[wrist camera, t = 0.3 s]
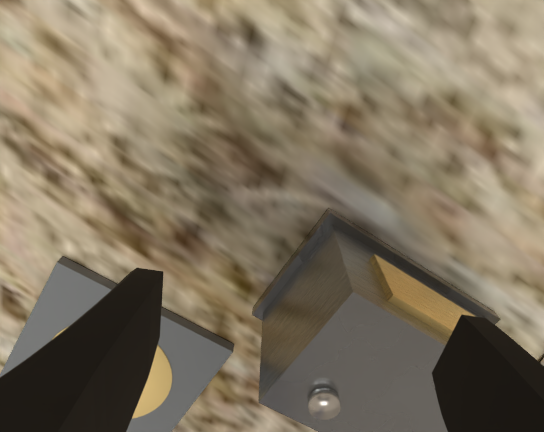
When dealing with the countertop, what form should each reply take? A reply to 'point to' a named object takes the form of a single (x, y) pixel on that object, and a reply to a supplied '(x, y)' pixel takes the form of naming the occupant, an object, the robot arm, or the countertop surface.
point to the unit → (356, 334)
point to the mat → (168, 357)
